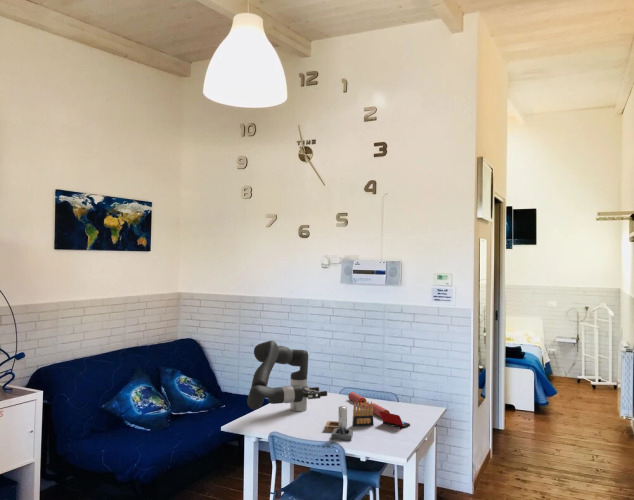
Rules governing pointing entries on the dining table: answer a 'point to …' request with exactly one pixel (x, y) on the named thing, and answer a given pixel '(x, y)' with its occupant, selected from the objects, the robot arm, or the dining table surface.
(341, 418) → the steel axle
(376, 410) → the blood vessel
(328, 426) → the walnut socket block
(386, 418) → the handheld game console
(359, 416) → the ammunition clip
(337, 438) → the steel bore block
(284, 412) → the dining table surface
